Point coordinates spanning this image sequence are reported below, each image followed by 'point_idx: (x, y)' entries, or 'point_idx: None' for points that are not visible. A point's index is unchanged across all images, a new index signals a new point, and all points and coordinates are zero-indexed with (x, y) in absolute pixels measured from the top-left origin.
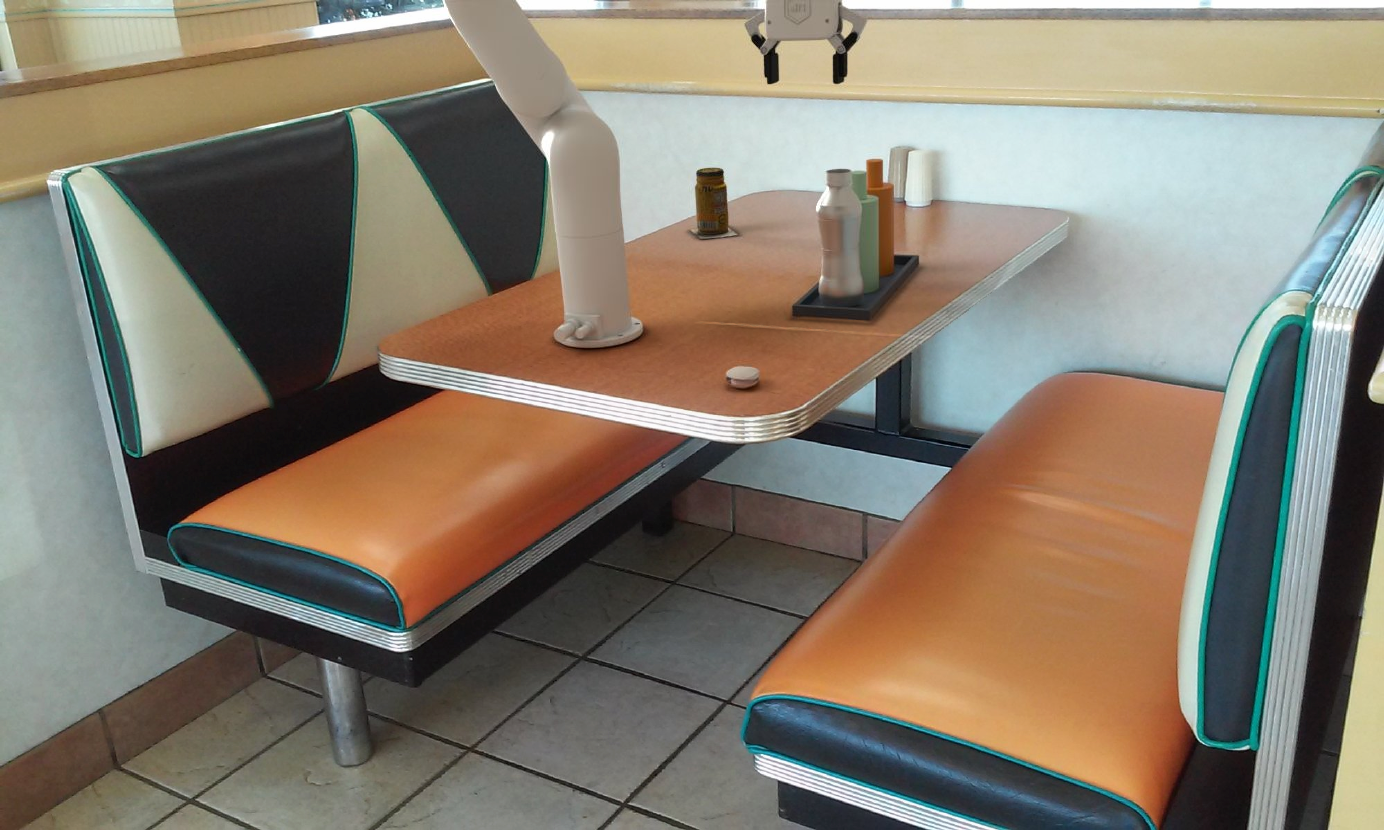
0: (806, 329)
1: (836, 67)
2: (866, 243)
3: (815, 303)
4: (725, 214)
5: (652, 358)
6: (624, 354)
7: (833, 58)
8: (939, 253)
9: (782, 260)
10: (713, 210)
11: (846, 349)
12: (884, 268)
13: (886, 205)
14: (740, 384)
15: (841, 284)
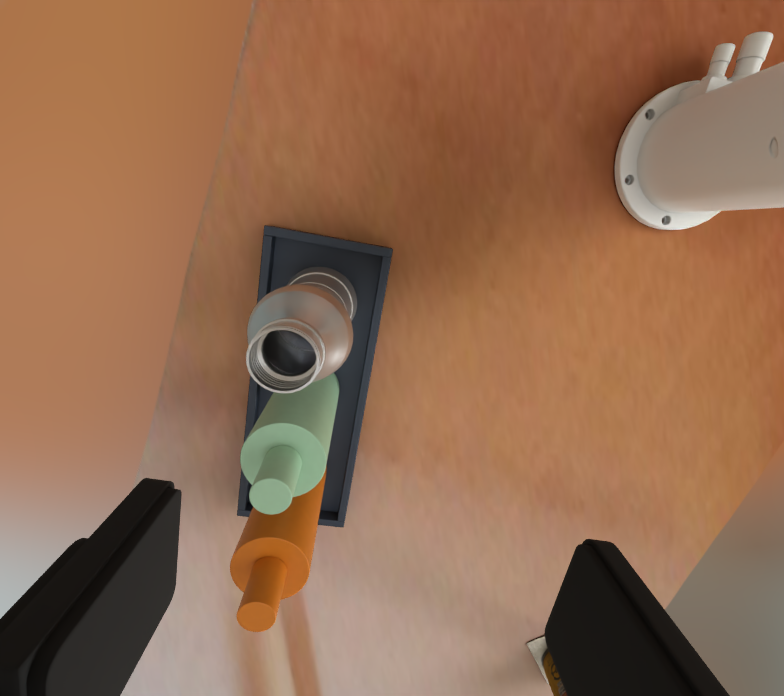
0: (363, 199)
1: (84, 553)
2: (278, 393)
3: (365, 310)
4: (555, 681)
5: (583, 41)
6: (629, 61)
7: (62, 636)
8: (224, 570)
9: (446, 533)
10: None
11: (285, 96)
12: None
13: (250, 522)
14: None
15: (312, 271)
